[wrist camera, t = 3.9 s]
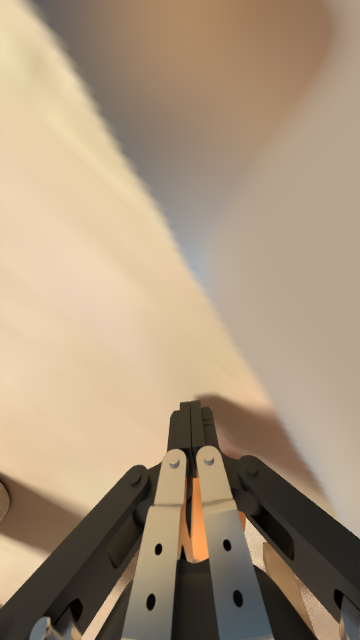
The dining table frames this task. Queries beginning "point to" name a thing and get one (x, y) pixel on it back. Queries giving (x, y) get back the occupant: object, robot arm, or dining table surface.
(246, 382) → the dining table surface
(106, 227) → the dining table surface
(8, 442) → the dining table surface
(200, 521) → the ball
